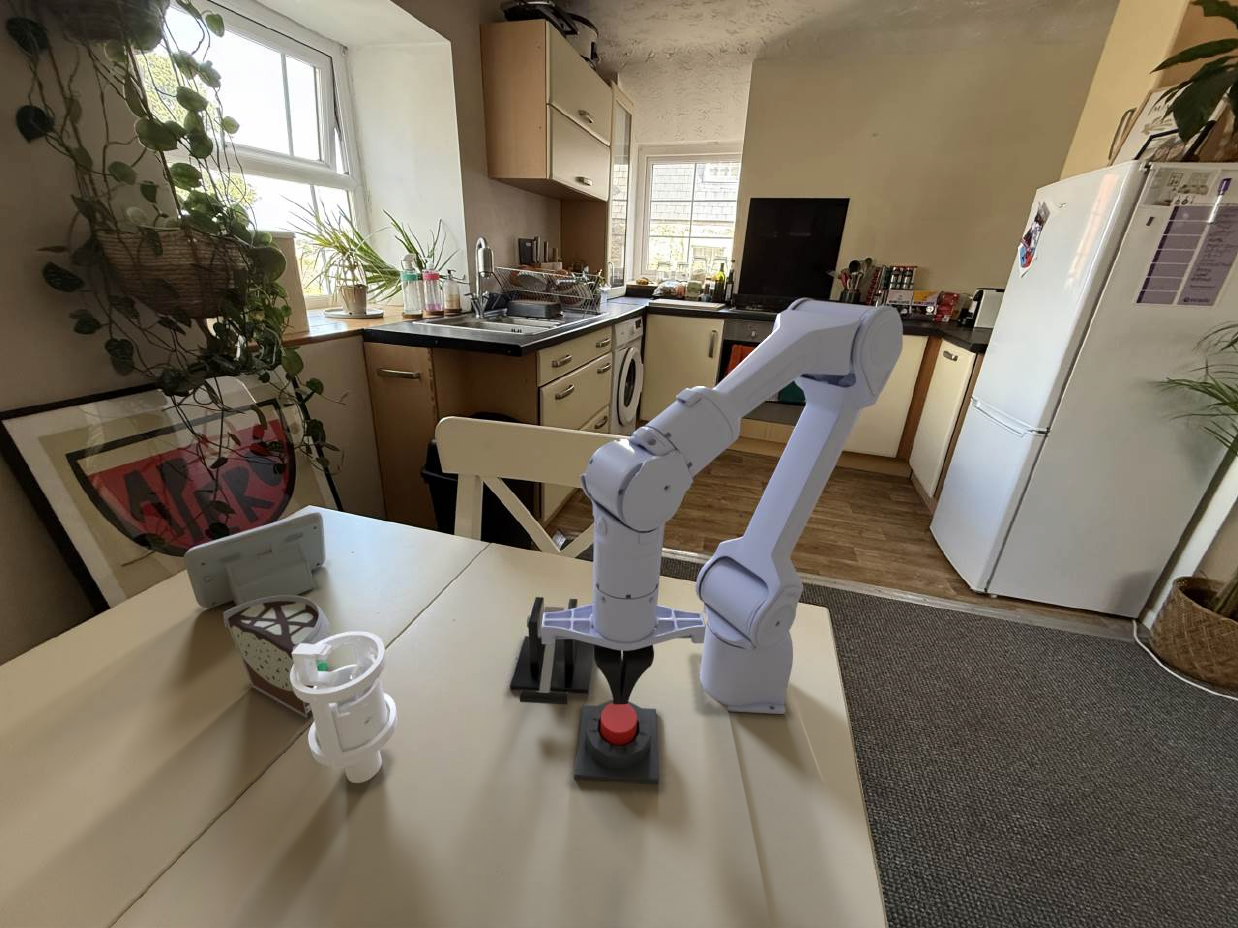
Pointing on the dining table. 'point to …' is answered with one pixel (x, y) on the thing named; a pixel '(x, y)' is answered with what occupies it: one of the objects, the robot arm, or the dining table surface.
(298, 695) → the white plastic cylinder
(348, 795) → the dining table surface
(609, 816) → the dining table surface
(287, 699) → the chocolate cake slice
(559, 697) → the switch
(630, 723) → the button
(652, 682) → the dining table surface
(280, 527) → the digital clock
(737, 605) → the robot arm
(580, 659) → the switch bracket
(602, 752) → the control block
